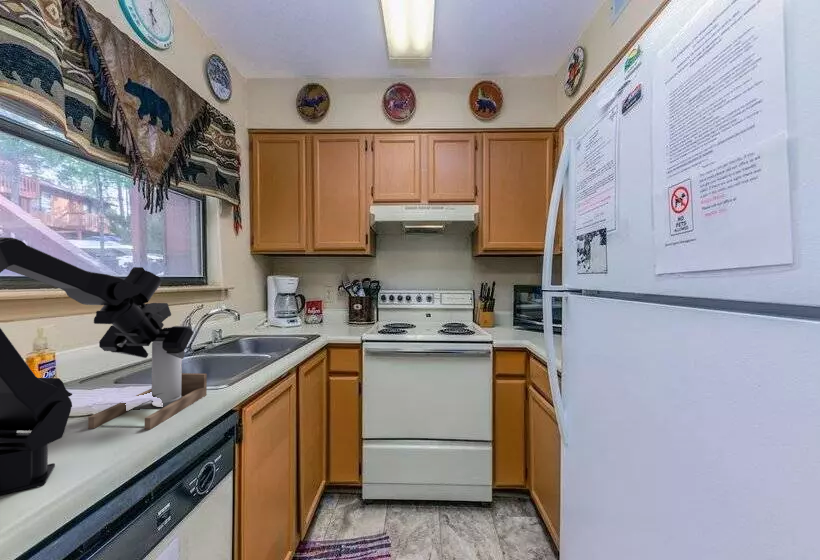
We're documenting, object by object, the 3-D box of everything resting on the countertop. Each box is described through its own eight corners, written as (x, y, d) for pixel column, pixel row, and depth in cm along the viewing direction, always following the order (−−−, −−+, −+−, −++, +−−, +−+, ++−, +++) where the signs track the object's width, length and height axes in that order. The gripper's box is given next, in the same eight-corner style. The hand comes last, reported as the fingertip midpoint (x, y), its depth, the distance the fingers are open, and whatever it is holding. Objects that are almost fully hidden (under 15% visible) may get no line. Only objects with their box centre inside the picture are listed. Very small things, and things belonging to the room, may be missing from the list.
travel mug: (151, 410, 83) (151, 329, 82) (151, 401, 88) (152, 325, 88) (181, 404, 86) (182, 327, 86) (180, 397, 92) (181, 323, 91)
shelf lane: (150, 429, 73) (150, 402, 73) (88, 428, 73) (88, 400, 73) (206, 395, 94) (206, 373, 93) (158, 394, 93) (158, 372, 93)
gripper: (188, 293, 81) (214, 331, 92) (109, 291, 80) (145, 329, 92) (165, 332, 73) (196, 368, 84) (77, 330, 73) (120, 366, 84)
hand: (165, 356), depth 86 cm, fingers open, 9 cm apart
